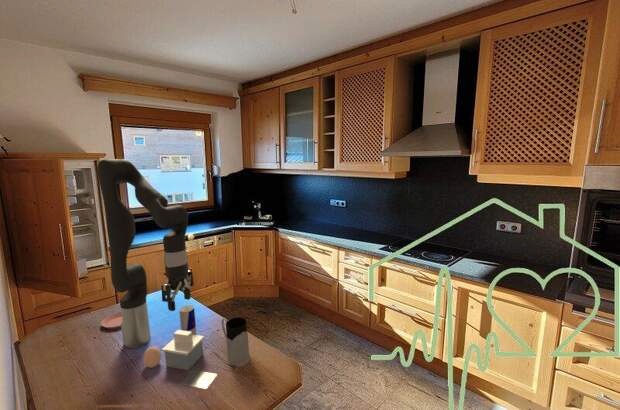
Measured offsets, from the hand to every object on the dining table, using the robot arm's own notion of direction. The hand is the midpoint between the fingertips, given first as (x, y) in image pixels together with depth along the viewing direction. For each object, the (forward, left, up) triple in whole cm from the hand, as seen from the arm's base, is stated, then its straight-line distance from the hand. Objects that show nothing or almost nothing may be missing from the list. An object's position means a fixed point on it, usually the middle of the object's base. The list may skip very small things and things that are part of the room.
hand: (180, 304), depth 111 cm
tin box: (0, 0, -23) cm, 23 cm away
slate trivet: (+11, -8, -23) cm, 27 cm away
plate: (-48, +17, -23) cm, 56 cm away
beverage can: (-6, +11, -23) cm, 26 cm away
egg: (-10, -5, -23) cm, 26 cm away
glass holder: (+17, +7, -23) cm, 29 cm away
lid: (0, 0, -16) cm, 16 cm away
